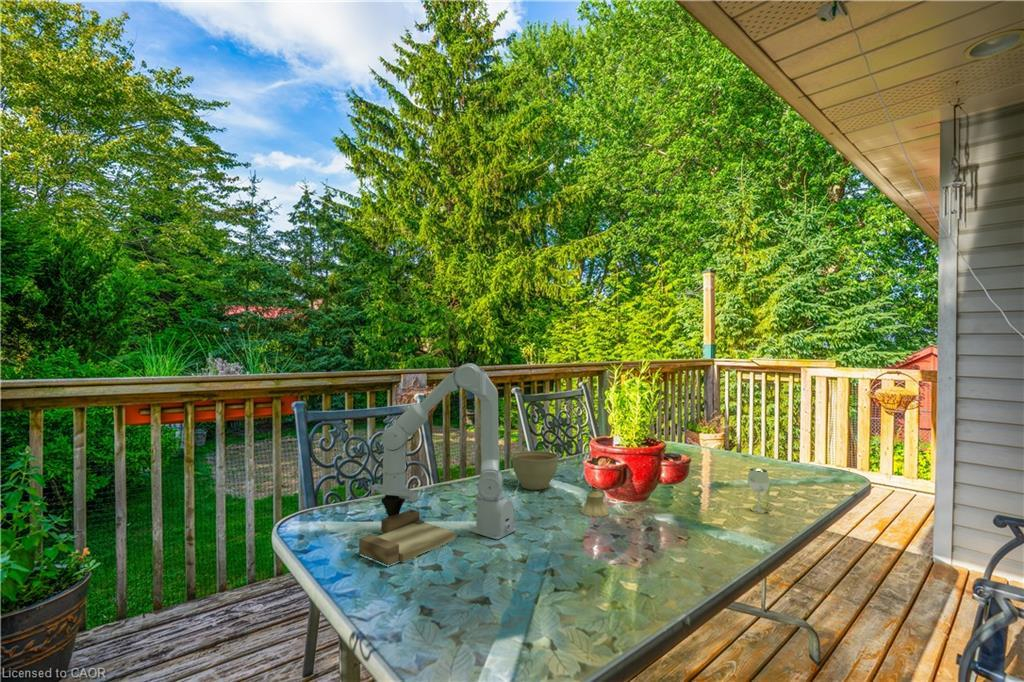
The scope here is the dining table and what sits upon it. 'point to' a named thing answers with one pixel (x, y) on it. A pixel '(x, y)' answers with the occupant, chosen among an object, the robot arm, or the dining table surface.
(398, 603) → the dining table surface
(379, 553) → the stool top
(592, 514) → the hand bell
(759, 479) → the wineglass
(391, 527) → the folding leg
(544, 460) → the planter bowl
